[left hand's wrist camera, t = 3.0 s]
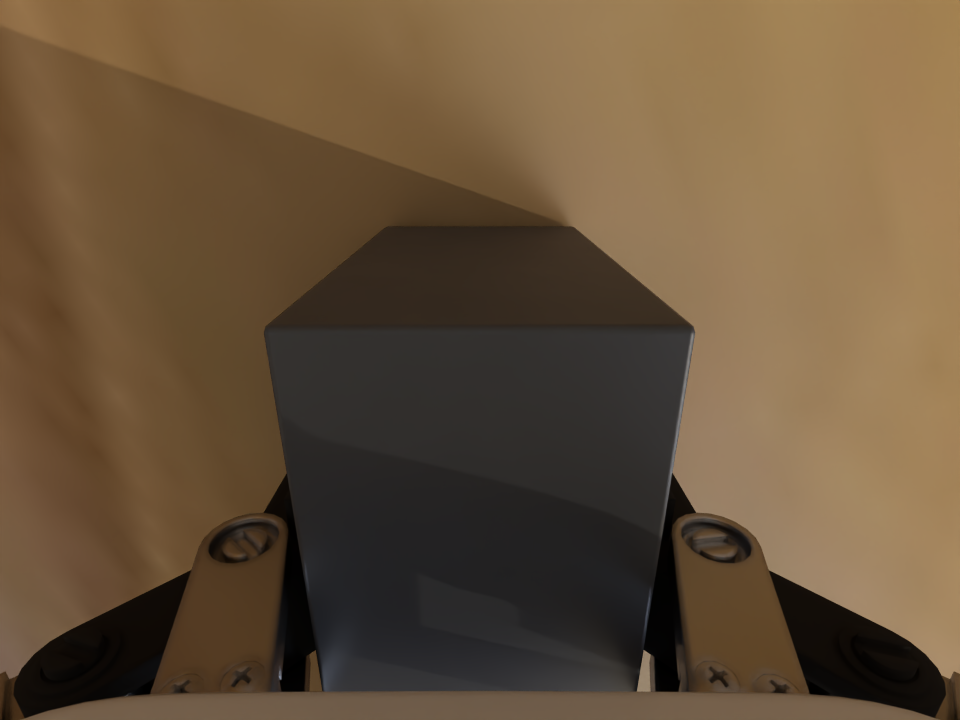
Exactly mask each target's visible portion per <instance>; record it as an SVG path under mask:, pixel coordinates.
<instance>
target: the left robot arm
mask: <svg viewBox="0 0 960 720" xmlns="http://www.w3.org/2000/svg"><path fill="white" fill-rule="evenodd" d="M315 650H316V648H315V642H314V636H313V630H312V624H311V617H310V611H309V605H308V599H307V593H306V587H305V581H304V575H303V569H302V562H301V556H300V550H299V544H298V538H297V532H296V526H295V520H294V513H293V507H292V501H291V495H290V489H289V483H288V477H287V474H286V476H285V477H284V479H283V481H282V483H281V484H280V486H279V488H278V489H277V491H276V493H275V494H274V496H273V498H272V499H271V501H270V503H269V504H268V506H267V508H266V510H265V511H264V513H252V514H247V515H242V516H238V517H235V518H233V519H231V520H228V521H226V522H224V523H222V524H221V525H219V526H218V527H216V528H214V529H213V530H212V531H211V532H210V533H209V534H208V535H207V536H206V537H205V538H204V539H203V541H202V543H201V545H200V546H199V549H198V552H197V555H196V558H195V561H194V564H193V567H192V570H190V571H188V572H186V573H184V574H182V575H180V576H178V577H176V578H174V579H172V580H170V581H168V582H166V583H164V584H162V585H160V586H158V587H156V588H154V589H152V590H150V591H148V592H146V593H144V594H142V595H140V596H138V597H136V598H134V599H132V600H130V601H128V602H126V603H124V604H122V605H120V606H118V607H116V608H114V609H112V610H110V611H108V612H106V613H104V614H102V615H100V616H98V617H95V618H93V619H91V620H89V621H87V622H85V623H83V624H81V625H79V626H77V627H75V628H73V629H71V630H69V631H67V632H66V633H64V634H62V635H60V636H59V637H57V638H55V639H54V640H52V641H50V642H49V643H48V644H46V645H45V646H44V647H43V648H41V649H40V650H39V651H38V652H37V653H35V654H34V655H33V656H32V657H31V659H30V660H29V661H28V662H27V663H26V664H25V665H24V667H23V668H22V669H21V671H20V673H19V675H18V676H16V677H14V678H12V679H9V678H8V676H7V674H6V672H3V673H1V674H0V720H960V674H959V673H957V672H953V674H952V676H951V678H950V679H948V678H946V677H944V676H941V674H940V672H939V670H938V668H937V667H936V666H935V665H934V664H933V662H932V661H931V660H930V659H929V658H928V657H927V656H926V655H925V654H924V653H923V652H922V651H921V650H919V649H918V648H917V647H916V646H914V645H913V644H912V643H911V642H909V641H908V640H906V639H904V638H903V637H901V636H899V635H898V634H896V633H894V632H892V631H891V630H888V629H886V628H884V627H882V626H880V625H878V624H876V623H874V622H872V621H870V620H868V619H866V618H864V617H862V616H860V615H858V614H856V613H854V612H852V611H850V610H848V609H846V608H844V607H842V606H840V605H838V604H836V603H834V602H832V601H830V600H828V599H826V598H824V597H822V596H820V595H818V594H816V593H814V592H812V591H810V590H808V589H806V588H804V587H802V586H800V585H797V584H795V583H793V582H791V581H789V580H787V579H785V578H783V577H781V576H779V575H777V574H775V573H773V572H771V571H769V570H768V567H767V564H766V561H765V558H764V555H763V552H762V549H761V546H760V545H759V543H758V541H757V539H756V538H755V537H754V536H753V535H752V534H751V533H750V532H749V531H748V530H747V529H746V528H744V527H742V526H741V525H739V524H738V523H736V522H734V521H732V520H729V519H727V518H725V517H722V516H718V515H713V514H708V513H696V512H695V510H694V508H693V507H692V505H691V503H690V502H689V500H688V498H687V497H686V495H685V493H684V492H683V490H682V488H681V487H680V485H679V483H678V482H677V480H676V478H675V476H674V475H673V473H672V478H671V484H670V490H669V496H668V502H667V508H666V515H665V521H664V527H663V533H662V539H661V545H660V551H659V558H658V564H657V570H656V576H655V582H654V588H653V594H652V601H651V607H650V613H649V619H648V625H647V631H646V637H645V644H644V650H645V651H646V652H648V653H649V654H651V656H650V688H651V692H588V691H372V692H309V688H310V656H309V654H310V653H312V652H313V651H315Z"/></svg>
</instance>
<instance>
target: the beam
mask: <svg viewBox="0 0 960 720" xmlns="http://www.w3.org/2000/svg"><path fill="white" fill-rule="evenodd" d="M264 336H265V342H266V348H267V354H268V360H269V366H270V373H271V379H272V385H273V391H274V397H275V403H276V409H277V415H278V422H279V428H280V434H281V440H282V446H283V452H284V458H285V464H286V471H287V477H288V483H289V489H290V495H291V501H292V507H293V513H294V520H295V526H296V532H297V538H298V544H299V550H300V556H301V562H302V569H303V575H304V581H305V587H306V593H307V599H308V605H309V611H310V617H311V624H312V630H313V636H314V642H315V648H316V654H317V660H318V666H319V673H320V679H321V685H322V691H323V692H372V691H588V692H637V687H638V680H639V674H640V668H641V662H642V656H643V650H644V644H645V637H646V631H647V625H648V619H649V613H650V607H651V601H652V594H653V588H654V582H655V576H656V570H657V564H658V558H659V551H660V545H661V539H662V533H663V527H664V521H665V515H666V508H667V502H668V496H669V490H670V484H671V478H672V472H673V465H674V459H675V453H676V447H677V441H678V435H679V429H680V422H681V416H682V410H683V404H684V398H685V392H686V386H687V379H688V373H689V367H690V361H691V355H692V349H693V343H694V336H695V330H694V327H693V326H692V325H691V324H690V323H689V322H687V321H686V320H685V319H684V318H683V317H681V316H680V315H679V314H678V313H677V312H675V311H674V310H673V309H672V308H671V307H669V306H668V305H667V304H666V303H665V302H663V301H662V300H661V299H660V298H659V297H657V296H656V295H655V294H654V293H653V292H651V291H650V290H649V289H648V288H647V287H645V286H644V285H643V284H642V283H641V282H639V281H638V280H637V279H636V278H635V277H633V276H632V275H631V274H630V273H628V272H627V271H626V270H625V269H624V268H622V267H621V266H620V265H619V264H618V263H616V262H615V261H614V260H613V259H612V258H610V257H609V256H608V255H607V254H606V253H604V252H603V251H602V250H601V249H600V248H598V247H597V246H596V245H595V244H594V243H592V242H591V241H590V240H589V239H588V238H586V237H585V236H584V235H583V234H582V233H580V232H579V231H578V230H577V229H575V228H574V227H386V228H384V229H383V230H382V231H381V232H379V233H378V234H377V235H376V236H375V237H373V238H372V239H371V240H370V241H368V242H367V243H366V244H365V245H364V246H362V247H361V248H360V249H359V250H358V251H356V252H355V253H354V254H353V255H352V256H350V257H349V258H348V259H347V260H345V261H344V262H343V263H342V264H341V265H339V266H338V267H337V268H336V269H335V270H333V271H332V272H331V273H330V274H328V275H327V276H326V277H325V278H324V279H322V280H321V281H320V282H319V283H318V284H316V285H315V286H314V287H313V288H312V289H310V290H309V291H308V292H307V293H305V294H304V295H303V296H302V297H301V298H299V299H298V300H297V301H296V302H295V303H293V304H292V305H291V306H290V307H289V308H287V309H286V310H285V311H284V312H282V313H281V314H280V315H279V316H278V317H276V318H275V319H274V320H273V321H272V322H270V323H269V324H268V325H267V326H266V327H265V331H264Z"/></svg>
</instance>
